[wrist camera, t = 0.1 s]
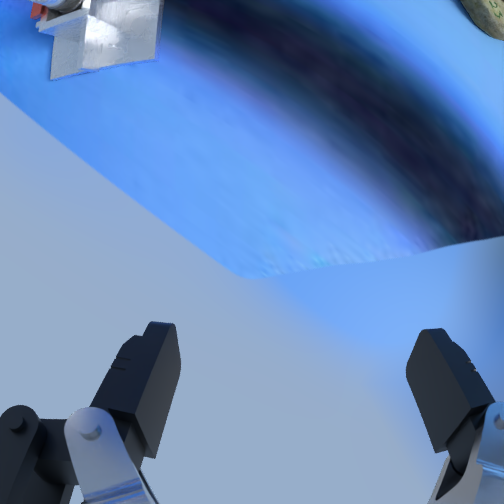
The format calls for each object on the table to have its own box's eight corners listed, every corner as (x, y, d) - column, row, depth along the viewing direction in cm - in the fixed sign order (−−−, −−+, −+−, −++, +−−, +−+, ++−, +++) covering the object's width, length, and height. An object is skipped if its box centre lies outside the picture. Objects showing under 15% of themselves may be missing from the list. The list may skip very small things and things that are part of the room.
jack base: (67, -15, 24) (23, -35, 14) (173, -44, 24) (146, -83, 14) (53, 84, 31) (0, 82, 21) (162, 64, 31) (122, 46, 21)
